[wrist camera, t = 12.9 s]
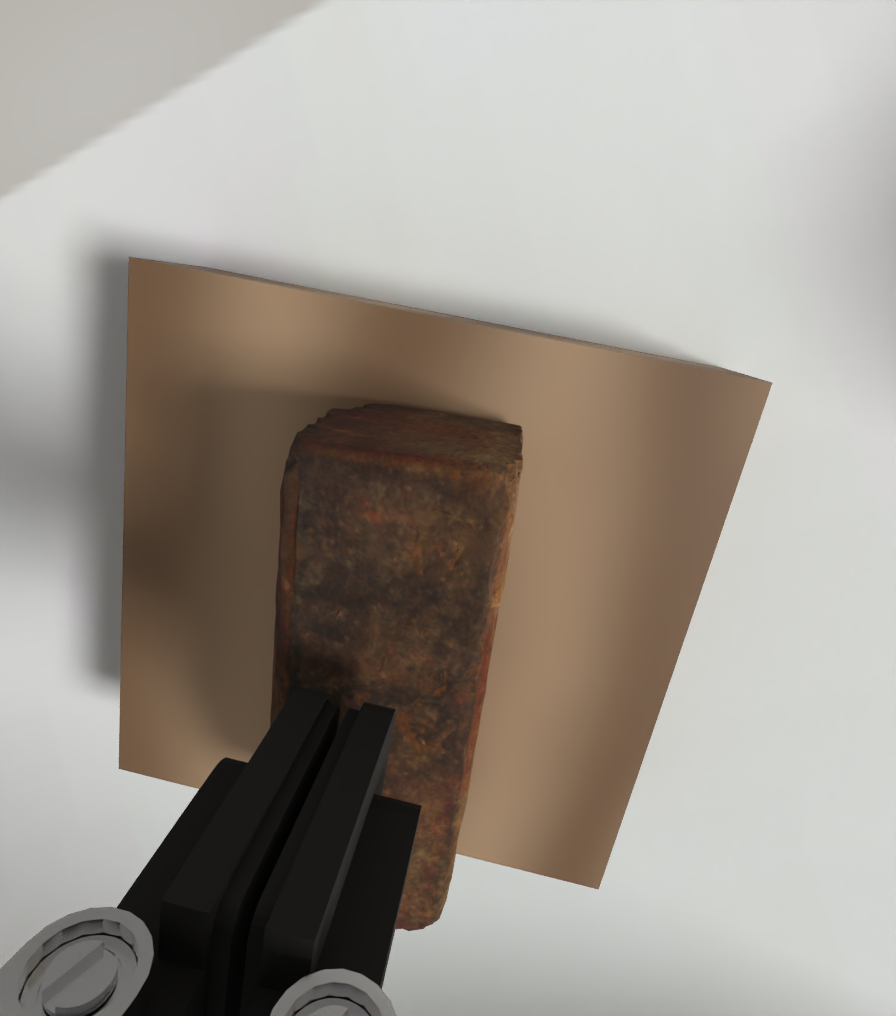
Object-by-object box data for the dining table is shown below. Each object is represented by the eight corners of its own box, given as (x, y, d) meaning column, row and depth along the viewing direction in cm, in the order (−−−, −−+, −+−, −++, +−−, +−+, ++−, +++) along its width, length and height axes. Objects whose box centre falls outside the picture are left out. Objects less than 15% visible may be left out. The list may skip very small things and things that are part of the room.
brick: (351, 393, 14) (269, 433, 10) (528, 421, 14) (526, 474, 9) (319, 776, 17) (247, 936, 13) (461, 805, 17) (436, 979, 13)
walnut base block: (718, 366, 17) (772, 383, 13) (586, 785, 21) (598, 889, 17) (215, 268, 18) (128, 256, 14) (189, 690, 22) (118, 768, 18)
